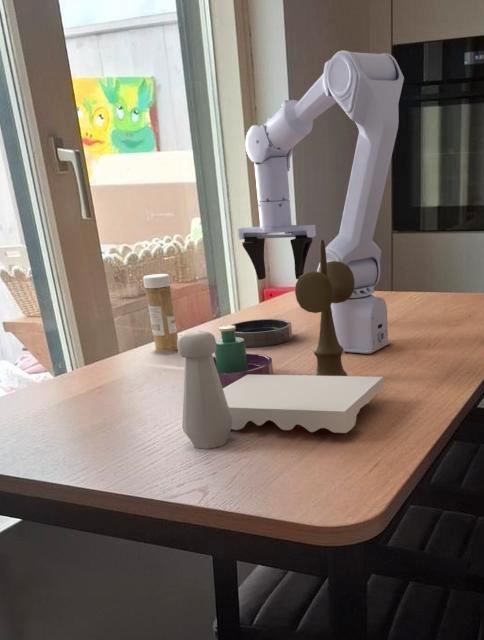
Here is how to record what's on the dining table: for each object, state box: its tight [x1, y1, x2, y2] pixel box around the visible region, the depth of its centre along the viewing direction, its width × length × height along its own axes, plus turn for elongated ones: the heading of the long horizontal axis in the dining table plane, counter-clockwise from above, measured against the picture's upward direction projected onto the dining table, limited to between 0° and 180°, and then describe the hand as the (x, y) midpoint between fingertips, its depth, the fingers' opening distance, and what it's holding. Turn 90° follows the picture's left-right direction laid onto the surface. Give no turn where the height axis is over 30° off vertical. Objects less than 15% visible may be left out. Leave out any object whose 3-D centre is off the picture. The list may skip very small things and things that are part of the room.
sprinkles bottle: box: [142, 273, 179, 353], centre depth 125 cm, size 5×5×13 cm
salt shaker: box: [177, 330, 232, 450], centre depth 80 cm, size 6×6×13 cm
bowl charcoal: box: [231, 318, 293, 348], centre depth 130 cm, size 12×12×3 cm
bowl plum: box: [213, 352, 274, 388], centre depth 105 cm, size 12×12×3 cm
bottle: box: [214, 324, 248, 373], centre depth 104 cm, size 5×5×8 cm
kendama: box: [294, 239, 355, 376], centre depth 99 cm, size 6×10×20 cm, turn 160°
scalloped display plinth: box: [223, 374, 384, 434], centre depth 90 cm, size 15×3×20 cm
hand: (280, 278), depth 131 cm, fingers open, 7 cm apart
